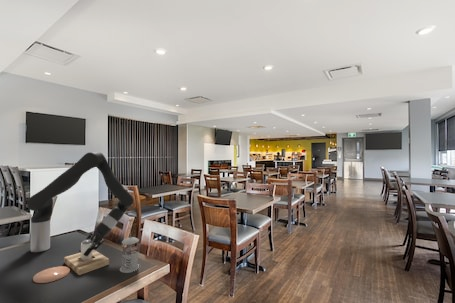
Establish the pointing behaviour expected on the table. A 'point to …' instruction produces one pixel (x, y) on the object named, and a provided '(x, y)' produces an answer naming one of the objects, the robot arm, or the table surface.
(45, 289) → the table surface
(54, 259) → the table surface
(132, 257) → the french press
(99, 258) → the mill caddy
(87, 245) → the pepper mill
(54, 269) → the terracotta plate
